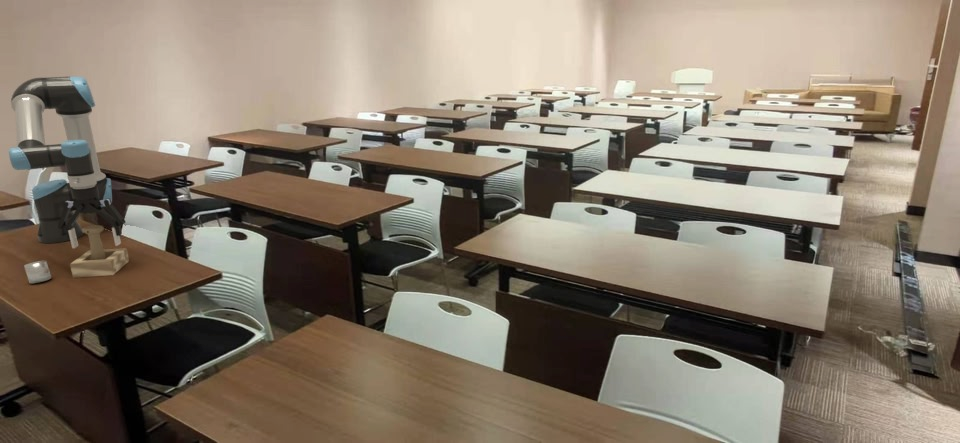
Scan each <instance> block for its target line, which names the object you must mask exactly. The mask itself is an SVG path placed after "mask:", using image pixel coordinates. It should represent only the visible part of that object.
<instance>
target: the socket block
mask: <svg viewBox="0 0 960 443" xmlns="http://www.w3.org/2000/svg"><path fill="white" fill-rule="evenodd" d="M104 252H105V257H106V259H103V260H93V259H92V255H91V250H87V251H85V253H83V254H82V255H81V256H79V257H78V258H76V259H75V260H73V261H72V262H71V263H69V266H70V270H71V275H72V279H75V278H76V279H77V278H88V277H90V278H91V277H101V276H102V277H103V276H114V275H115V274H116V273H118V272H119V271H120V270H121V269H122V268H123V267H124V266H125V265H126V264H128V263H129V261H130V258H129V253H128V249H127V247H123V248H110V249H109V248H108V249H104Z"/></svg>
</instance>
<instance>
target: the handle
mask: <svg viewBox="0 0 960 443" xmlns="http://www.w3.org/2000/svg"><path fill="white" fill-rule="evenodd" d="M81 228H82V232H83V234H85V235H87V238H88V242H89V248H90V250H91V255H92V259H93V260H103V259H106V257H105V252H104V250H105V248H104V245H103V242H102V237H101V233H102V232H104V230H105V229H104V226H103V225H87V226H84V227H81ZM90 250H89V251H90Z"/></svg>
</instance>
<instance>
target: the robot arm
mask: <svg viewBox="0 0 960 443" xmlns="http://www.w3.org/2000/svg"><path fill="white" fill-rule="evenodd" d="M10 102H11V108H12V110H13V111H14V112H15V126H16V128H15V130H16V147H11V148H9V149H8V155H9V156H8V157H9V160H10V164H11V167H12V168H13V170H15V171H23V170H26V171H27V170H28V171H29V170H39V169H46V168H56V167H65V169H66V174H67V179H68V181H67V180H66V179H63V178H61V179H53V180H49V181H46V182H45V181H44V182H42V183H39V184H36V185H35V186H33V188H32V191H31V192H32V193H31V194H32V196H33V197H32V199H33V201H34V205H35V209H36V213H37V217H38V223H39V225H38V228H37V229H38V232H37V240H38V242H39V243H42V244H56V243H63V242H68V241H70V245H71V248H72V249H76V248H77V247H79V242H78V238H80V237H83V235H84V233H83V232H82V228H83V227H82V226H81V224H80V223H79V222H78V219H79V218H80V216H81V214H83V215H87V214H96V215H99V216H100V217H101V218H103V219H104V220H105V221H106V222H107V223H108V224H110V225H112V227H111V230H112V235H113V241H114V246H115V247H117V246H119V245H121V244H122V241H121V237H120V236H121V235H122V228H121V226H123V225H124V224H125V223H126V220H125V219H124V218H123V216H122V215H121V213H120V212H119V211H118V210H117V208H116V207H115V206H114V205H113V194H112V192H113V191H112V190H113V189H112V180H111V178H109V177H107V175H106V174H105V173H104V172H102V171H101V167H100V164H99V159H98V153H97V149H96V145H95V140H94V134H93V130H92V126H91V122H90V121H91V120H90V117H89V116H90V114H92V113H93V110H92V108H95V106H96V104H95V102H96V101H95V100H94V97H93V94H92V91H91V89H90V86H89V84H88V81H87V79H86V78H84V77H82V76H55V77H54V76H52V77H50V76H49V77H34V78H30V79H28V80H26V81H24V82H22V83H21V84H20V85H19V86H18V87H17V88H15V90H14V92H13V93H12V95H11V100H10ZM53 109H54V110H55V112H56V115H57V116H60V117H61V118H62V119H61V120H62V123H63V126H64V131H65V134H66V135H65V136H66V140H65V141H62V142H61V143H58V144H46V140H45V131H44V130H45V129H44V121H43V120H44V119H43V113H44V111H45V110H53ZM104 207H105V208H106V210H107V211H108V212H109V213H108V212H107V211H106V210H105V208H104Z"/></svg>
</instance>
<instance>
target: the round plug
mask: <svg viewBox="0 0 960 443" xmlns="http://www.w3.org/2000/svg"><path fill="white" fill-rule="evenodd" d="M23 267H24V271H25V273H26V276H27V280H28V282H29V284H37V283H42V282H46V281H48V280H50V279H52V274H51V272H50V268H49V266H48V262H47V260H45V259H44V260H38V261H33V262H30V263H26V264H24V265H23Z"/></svg>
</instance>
